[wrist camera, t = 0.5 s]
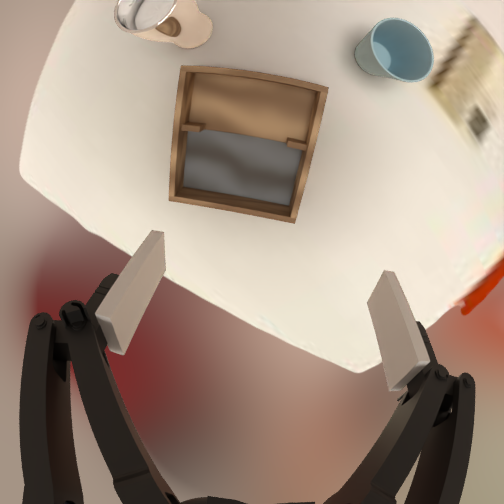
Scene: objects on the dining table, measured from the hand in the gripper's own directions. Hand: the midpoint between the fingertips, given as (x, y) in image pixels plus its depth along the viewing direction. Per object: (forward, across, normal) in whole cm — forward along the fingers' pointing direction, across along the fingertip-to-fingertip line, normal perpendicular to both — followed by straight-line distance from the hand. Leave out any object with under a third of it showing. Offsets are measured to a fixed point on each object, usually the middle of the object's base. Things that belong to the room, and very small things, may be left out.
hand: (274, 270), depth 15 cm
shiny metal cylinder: (+26, -15, +18) cm, 35 cm away
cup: (+26, +10, +18) cm, 34 cm away
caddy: (+26, -5, +2) cm, 26 cm away
